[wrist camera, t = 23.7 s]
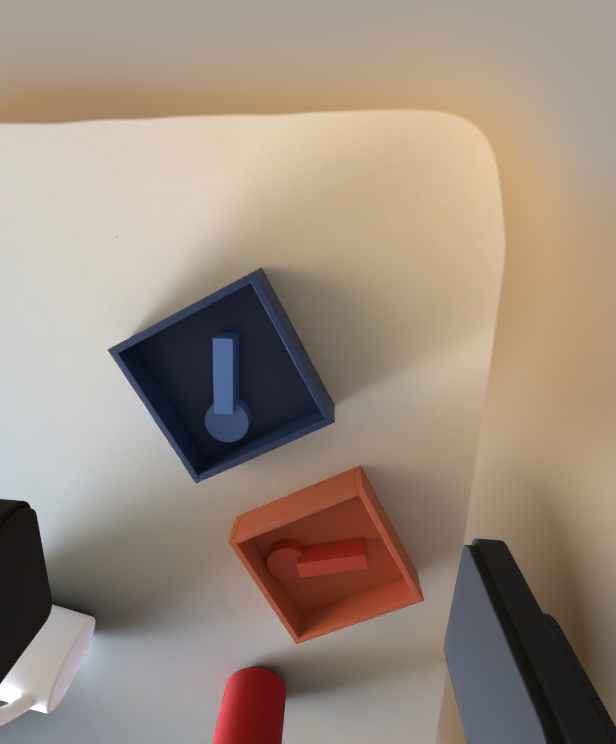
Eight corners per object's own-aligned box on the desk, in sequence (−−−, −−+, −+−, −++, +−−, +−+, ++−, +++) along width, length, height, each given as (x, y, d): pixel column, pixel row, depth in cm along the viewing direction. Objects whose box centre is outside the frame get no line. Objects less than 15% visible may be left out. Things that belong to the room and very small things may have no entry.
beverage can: (245, 710, 50) (220, 851, 39) (216, 671, 49) (180, 806, 37) (297, 694, 49) (287, 835, 38) (269, 653, 47) (249, 787, 36)
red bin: (360, 465, 40) (362, 487, 36) (417, 572, 43) (423, 600, 40) (236, 517, 42) (227, 541, 39) (298, 614, 45) (296, 644, 42)
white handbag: (89, 653, 49) (15, 782, 37) (-1, 626, 48) (-104, 749, 37) (102, 599, 46) (26, 720, 35) (6, 570, 46) (-101, 683, 34)
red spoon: (361, 527, 41) (363, 544, 39) (368, 559, 42) (370, 578, 40) (264, 541, 42) (261, 559, 40) (274, 572, 43) (270, 591, 41)
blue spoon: (207, 330, 36) (198, 336, 34) (252, 332, 36) (247, 339, 34) (209, 433, 39) (201, 446, 37) (251, 436, 39) (246, 449, 37)
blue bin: (261, 267, 35) (254, 271, 31) (334, 405, 38) (334, 422, 35) (127, 339, 37) (107, 349, 34) (207, 463, 40) (195, 483, 37)
